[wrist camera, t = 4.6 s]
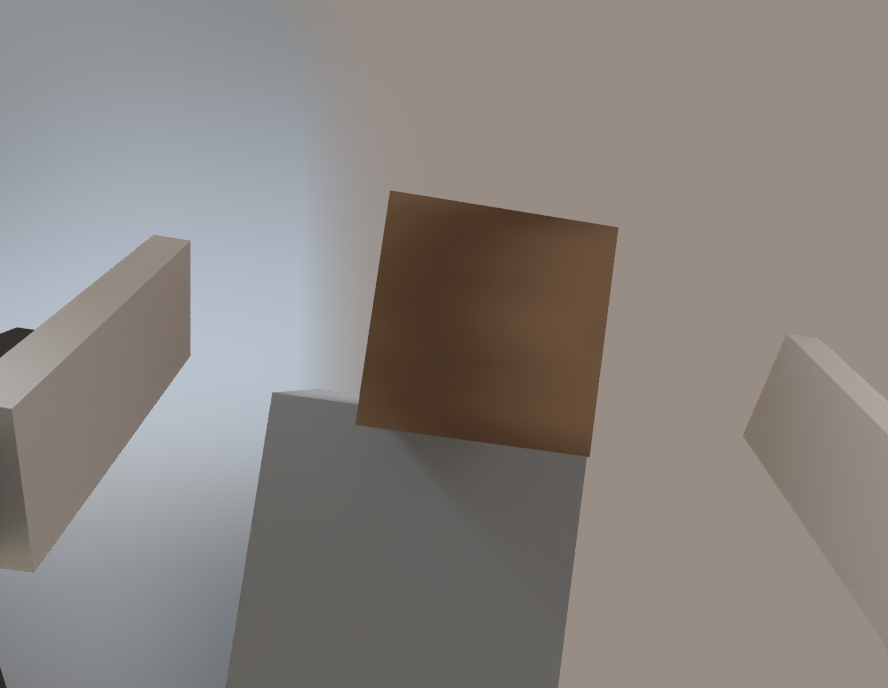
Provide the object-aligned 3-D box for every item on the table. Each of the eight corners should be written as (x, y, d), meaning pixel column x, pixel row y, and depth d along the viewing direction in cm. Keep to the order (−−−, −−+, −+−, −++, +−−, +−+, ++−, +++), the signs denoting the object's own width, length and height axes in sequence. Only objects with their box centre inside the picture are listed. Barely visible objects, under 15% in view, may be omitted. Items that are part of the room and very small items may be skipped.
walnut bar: (355, 424, 11) (390, 190, 12) (376, 397, 35) (387, 320, 36) (589, 456, 12) (617, 227, 12) (453, 408, 36) (464, 331, 36)
